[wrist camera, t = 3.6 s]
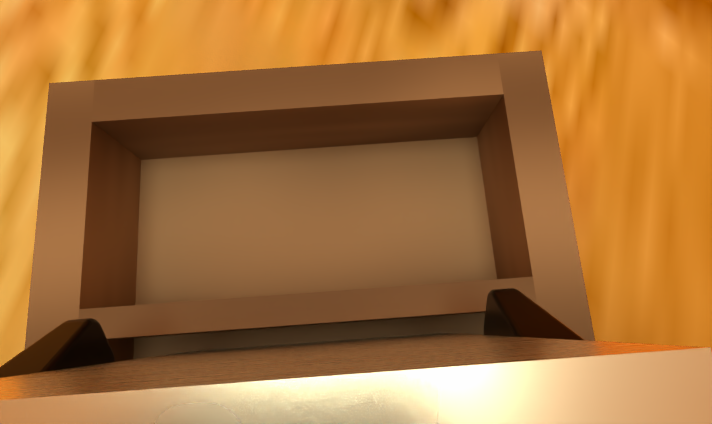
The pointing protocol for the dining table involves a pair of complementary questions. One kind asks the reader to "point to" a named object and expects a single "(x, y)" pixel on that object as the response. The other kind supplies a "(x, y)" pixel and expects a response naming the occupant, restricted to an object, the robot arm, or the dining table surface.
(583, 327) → the slot box
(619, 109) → the dining table surface
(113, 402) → the wooden block
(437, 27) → the dining table surface
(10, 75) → the dining table surface
